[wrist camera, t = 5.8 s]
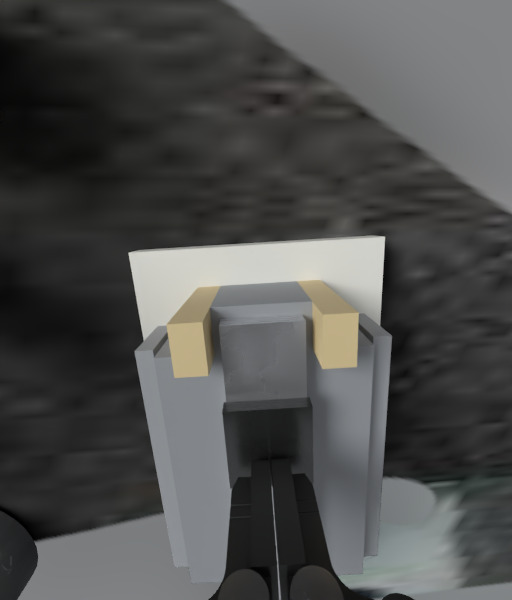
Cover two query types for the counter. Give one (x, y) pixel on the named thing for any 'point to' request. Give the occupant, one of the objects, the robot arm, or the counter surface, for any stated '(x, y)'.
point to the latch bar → (266, 395)
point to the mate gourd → (1, 115)
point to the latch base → (211, 390)
